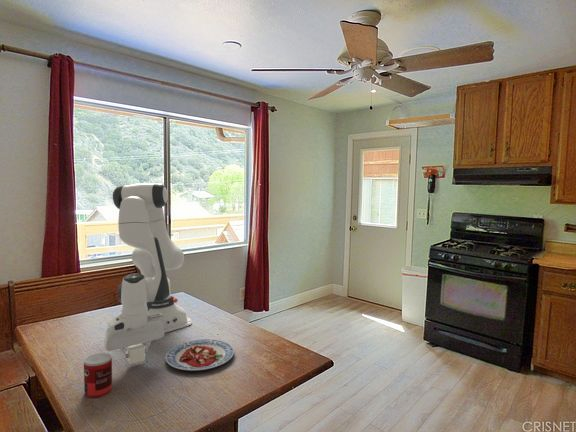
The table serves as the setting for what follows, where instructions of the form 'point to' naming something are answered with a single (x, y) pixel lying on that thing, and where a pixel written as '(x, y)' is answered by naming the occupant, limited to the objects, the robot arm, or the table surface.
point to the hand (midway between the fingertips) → (135, 355)
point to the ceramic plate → (199, 354)
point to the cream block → (136, 353)
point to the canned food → (97, 375)
